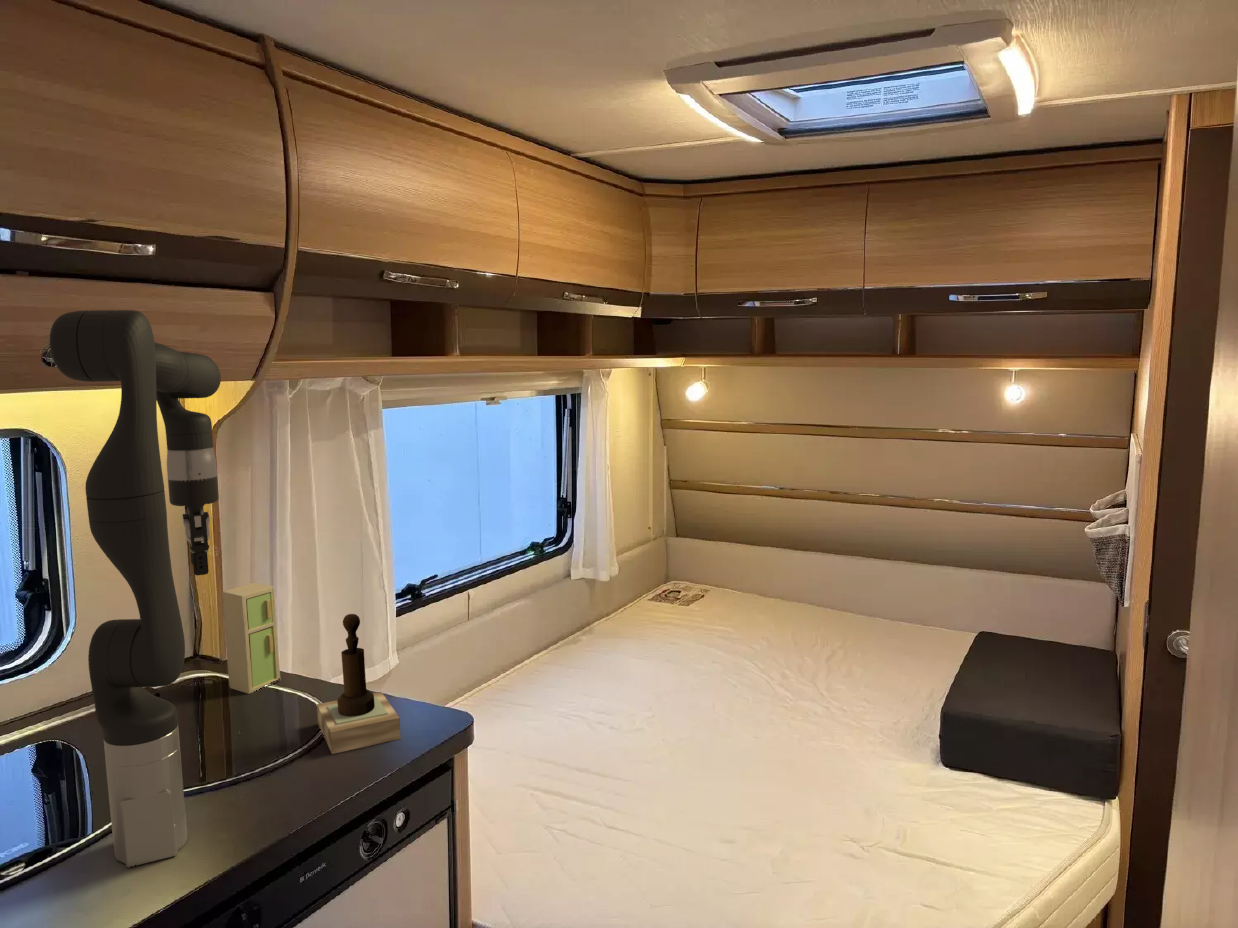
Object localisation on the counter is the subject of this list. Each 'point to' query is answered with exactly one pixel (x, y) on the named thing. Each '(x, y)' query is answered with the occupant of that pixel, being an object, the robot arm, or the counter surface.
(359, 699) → the dark brown pepper mill
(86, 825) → the counter surface
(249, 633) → the toy refrigerator
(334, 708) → the birch pedestal
